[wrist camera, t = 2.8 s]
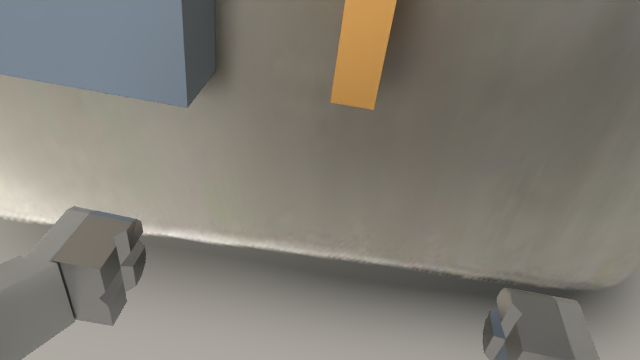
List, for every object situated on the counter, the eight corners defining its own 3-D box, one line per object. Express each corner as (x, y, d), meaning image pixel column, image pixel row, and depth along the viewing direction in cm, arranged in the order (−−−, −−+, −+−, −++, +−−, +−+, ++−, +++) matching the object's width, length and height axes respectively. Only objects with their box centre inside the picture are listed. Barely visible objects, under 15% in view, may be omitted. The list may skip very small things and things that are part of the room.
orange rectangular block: (362, -54, 25) (346, -10, 19) (400, -47, 25) (397, -2, 19) (347, 38, 29) (330, 102, 22) (381, 44, 28) (373, 110, 22)
